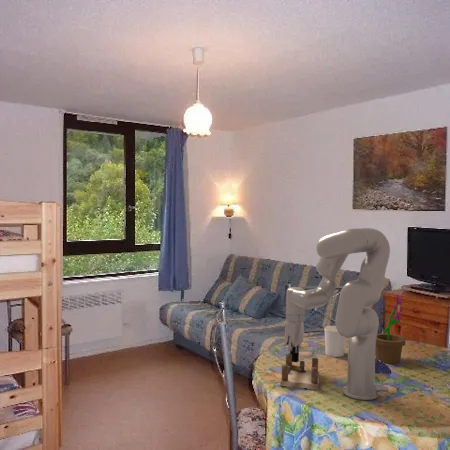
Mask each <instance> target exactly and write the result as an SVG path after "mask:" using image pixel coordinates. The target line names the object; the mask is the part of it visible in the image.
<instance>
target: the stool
mask: <svg viewBox="0 0 450 450" xmlns="http://www.w3.org/2000/svg"><path fill="white" fill-rule="evenodd" d="M319 374H320V371H319V358H317V357H312V358H311V370H307V369H306V370H305V369H304V372H300V371H296V370H292V369H290V366H288V365H286V364H281V377H280V380H279V381H280V382H279V383H280V385H279V386H280V387H282V386H287V387H286V388H293V387H296V388H295V389H304V388H307V389H306V390H317V391H318V390H319V385H320V384H319V382H320V380H319V378H320V377H319Z"/></svg>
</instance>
